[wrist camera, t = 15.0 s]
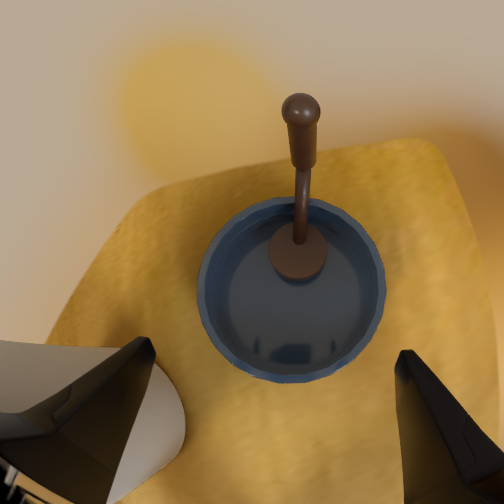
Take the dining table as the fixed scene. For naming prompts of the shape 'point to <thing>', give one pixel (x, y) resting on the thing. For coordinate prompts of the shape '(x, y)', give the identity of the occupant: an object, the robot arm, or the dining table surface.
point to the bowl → (290, 295)
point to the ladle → (300, 197)
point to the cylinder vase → (74, 366)
